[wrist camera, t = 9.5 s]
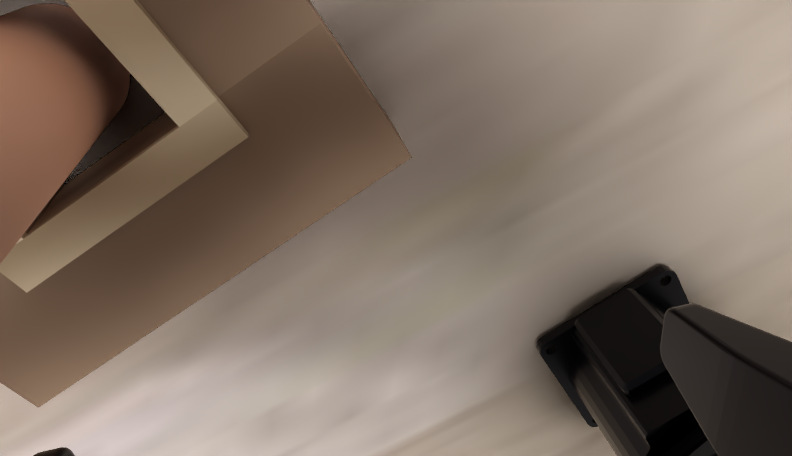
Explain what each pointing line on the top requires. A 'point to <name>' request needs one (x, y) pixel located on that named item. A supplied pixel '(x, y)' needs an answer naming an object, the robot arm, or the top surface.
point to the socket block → (188, 178)
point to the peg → (49, 107)
